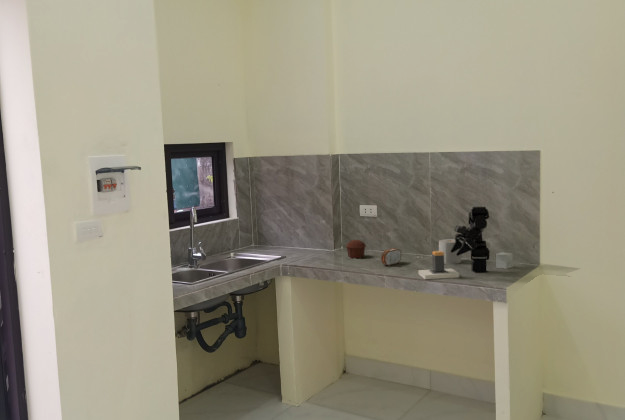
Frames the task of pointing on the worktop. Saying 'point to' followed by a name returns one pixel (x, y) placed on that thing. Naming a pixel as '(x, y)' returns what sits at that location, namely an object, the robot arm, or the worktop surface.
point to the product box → (504, 260)
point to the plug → (438, 261)
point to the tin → (391, 256)
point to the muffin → (356, 249)
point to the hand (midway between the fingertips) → (454, 253)
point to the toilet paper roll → (449, 251)
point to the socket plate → (438, 274)
